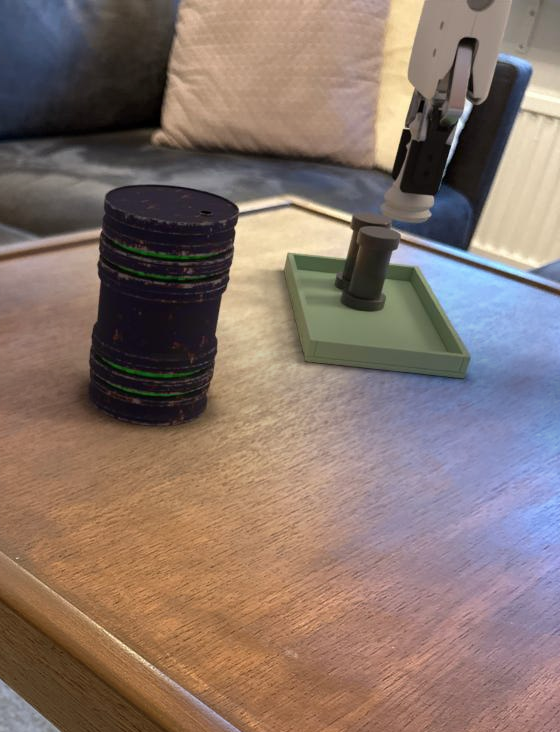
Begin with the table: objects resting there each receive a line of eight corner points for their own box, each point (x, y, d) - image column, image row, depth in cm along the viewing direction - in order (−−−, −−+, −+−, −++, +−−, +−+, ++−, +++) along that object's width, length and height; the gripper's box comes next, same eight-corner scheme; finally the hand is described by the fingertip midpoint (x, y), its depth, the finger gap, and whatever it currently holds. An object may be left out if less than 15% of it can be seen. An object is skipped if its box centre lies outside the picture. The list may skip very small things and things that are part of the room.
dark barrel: (61, 397, 78) (74, 198, 69) (131, 362, 84) (152, 176, 75) (165, 439, 74) (194, 233, 64) (230, 399, 80) (266, 207, 71)
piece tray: (413, 284, 107) (418, 266, 106) (464, 378, 87) (471, 357, 86) (283, 270, 107) (287, 252, 106) (305, 361, 88) (310, 339, 86)
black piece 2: (380, 298, 101) (399, 228, 97) (386, 313, 98) (406, 241, 93) (337, 294, 101) (354, 223, 97) (342, 309, 98) (360, 236, 93)
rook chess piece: (376, 206, 89) (401, 107, 84) (426, 212, 88) (454, 113, 83) (381, 220, 85) (408, 117, 80) (433, 226, 85) (463, 124, 80)
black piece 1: (372, 282, 105) (390, 214, 101) (379, 296, 102) (398, 226, 97) (331, 278, 105) (348, 209, 101) (336, 292, 102) (353, 221, 97)
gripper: (567, -62, 67) (478, 218, 79) (505, -74, 80) (437, 168, 92) (457, -74, 67) (384, 208, 79) (414, -83, 80) (356, 160, 92)
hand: (413, 184), depth 85 cm, fingers closed on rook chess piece, 3 cm apart
